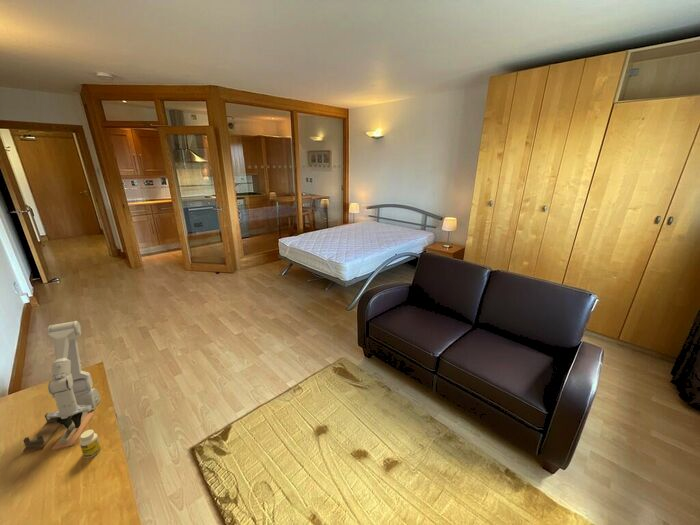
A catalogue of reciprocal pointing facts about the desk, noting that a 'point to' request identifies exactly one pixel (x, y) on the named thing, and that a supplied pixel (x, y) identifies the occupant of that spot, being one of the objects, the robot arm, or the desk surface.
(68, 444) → the mat
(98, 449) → the supplement bottle
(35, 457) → the desk surface
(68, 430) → the steel rail
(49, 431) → the hook stand
